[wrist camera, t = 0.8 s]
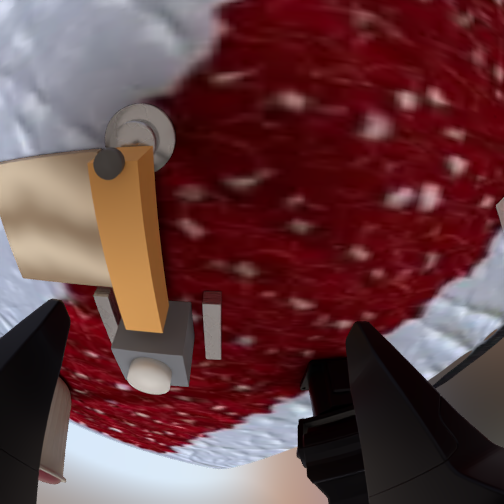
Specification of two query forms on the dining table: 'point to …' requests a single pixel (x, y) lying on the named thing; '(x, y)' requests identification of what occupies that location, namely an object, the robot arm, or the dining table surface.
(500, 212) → the white angled block
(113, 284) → the latch
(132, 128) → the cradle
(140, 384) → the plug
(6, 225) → the board
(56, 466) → the canister
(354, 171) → the dining table surface
